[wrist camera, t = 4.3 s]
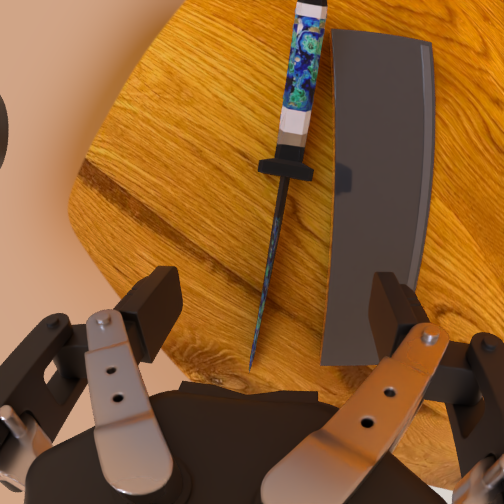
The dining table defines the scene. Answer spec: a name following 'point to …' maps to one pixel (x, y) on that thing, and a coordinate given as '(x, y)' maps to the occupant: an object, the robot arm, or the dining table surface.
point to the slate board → (375, 179)
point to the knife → (294, 121)
